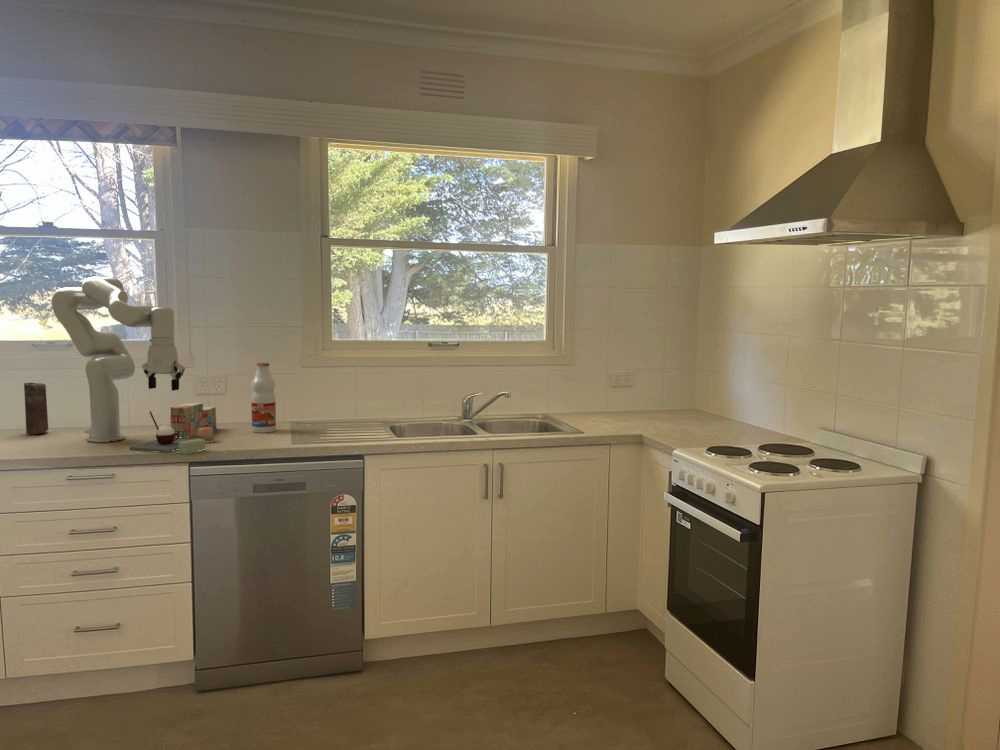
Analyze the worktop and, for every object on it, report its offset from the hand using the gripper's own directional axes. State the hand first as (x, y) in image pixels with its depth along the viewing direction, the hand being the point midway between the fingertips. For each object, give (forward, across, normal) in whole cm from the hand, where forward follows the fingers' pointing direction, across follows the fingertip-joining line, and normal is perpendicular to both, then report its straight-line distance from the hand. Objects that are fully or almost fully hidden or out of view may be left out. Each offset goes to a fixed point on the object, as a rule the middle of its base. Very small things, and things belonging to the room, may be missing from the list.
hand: (163, 389), depth 264 cm
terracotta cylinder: (+21, +8, +13) cm, 26 cm away
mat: (+21, +1, 0) cm, 21 cm away
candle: (+22, -61, +4) cm, 65 cm away
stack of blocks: (+22, -6, +25) cm, 33 cm away
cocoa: (+20, 0, 0) cm, 20 cm away
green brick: (+21, +15, -4) cm, 26 cm away
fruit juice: (+21, +17, +38) cm, 46 cm away
